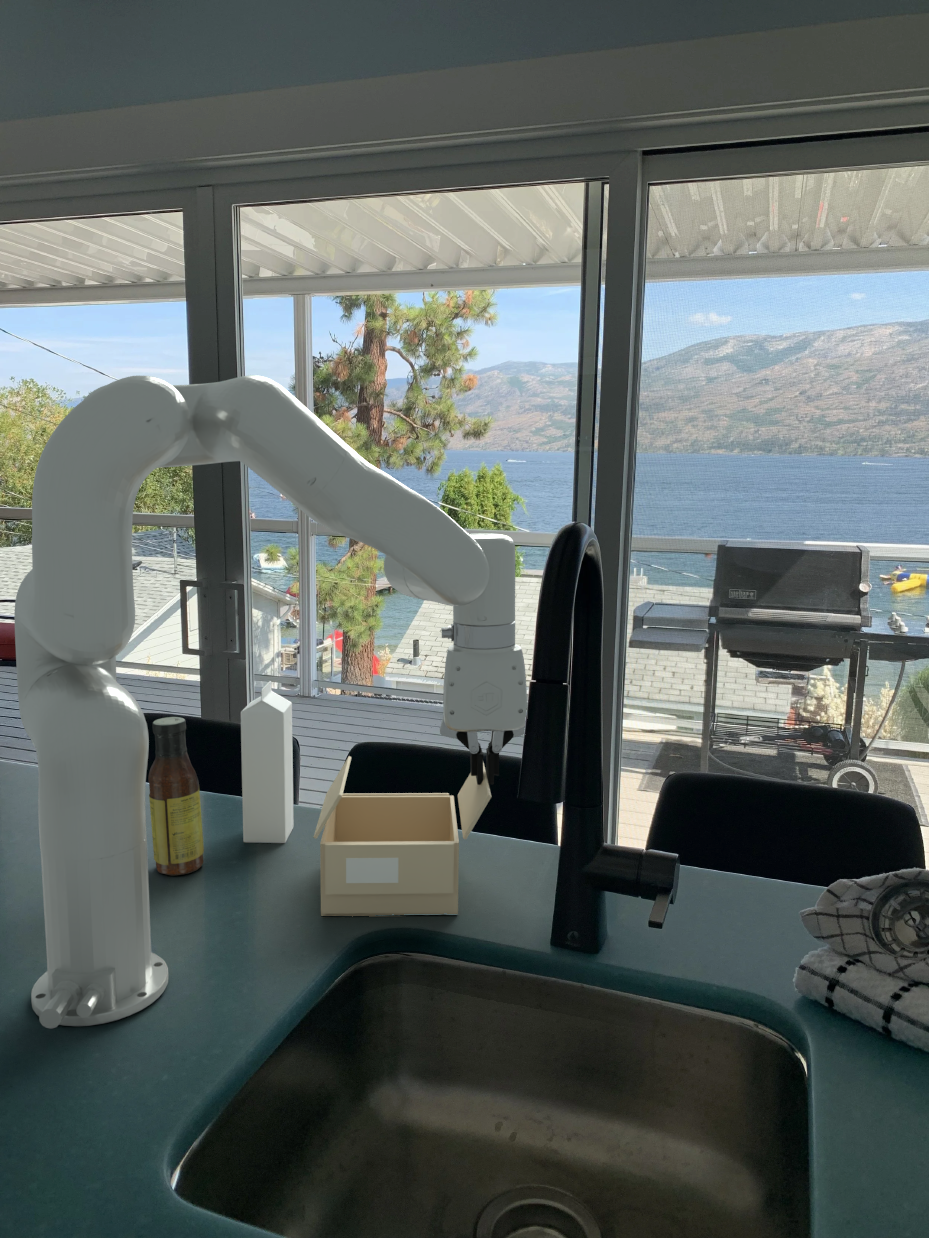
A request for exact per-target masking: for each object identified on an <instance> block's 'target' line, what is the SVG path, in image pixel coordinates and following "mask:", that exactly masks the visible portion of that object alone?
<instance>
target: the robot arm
mask: <svg viewBox="0 0 929 1238" xmlns="http://www.w3.org/2000/svg"><path fill="white" fill-rule="evenodd" d="M229 462H230V463H231V462H241V463H242V464H243V465H244V466H246V467H247V468H248V469H250V471H252V472H253V473H254V474H256V475H257V476H258V477H259V478H261V479H262V480H263V481H265V482H266V483H267V484H269V486H271V487H272V488H274V489H275V490H276V491H277V492H278V493H279V494H281V495H282V496H283V497H284V498H286V499H287V500H288V501H289V502H291V503H292V504H293V505H294V506H295V507H296V508H298V509H299V510H300V511H301V512H303V514H305V515H306V516H307V517H308V518H310V520H313V521H314V522H316V523H317V525H320V526H323V527H324V528H325V529H328V530H330V531H331V532H333V533H335V534H338V535H341V536H343V537H346V538H347V539H351V540H353V541H357V542H360V543H362V544H364V545H367V546H369V547H371V548H372V549H374V550H376V551H378V552H380V553H382V554H383V555H385V557H384V560H383V571H384V576H385V578H386V579H387V582H388V583H389V584H390V586H391V587H392V588H393V589H395V591H397V592H398V593H401V594H402V595H404V596H406V597H409V598H413V599H416V600H417V599H418V600H422V601H427V602H433V603H438V604H442V605H444V606H451V607H452V609H453V610H452V618H453V619H452V623H451V624H450V625H447V626H445V627H444V626H442V627H441V639H448V640H450V641H451V642H453V644H451V645H449V646H448V648H447V652H446V656H445V664H444V665H445V666H444V673H443V675H444V676H443V696H442V697H443V698H442V708H443V710H442V711H443V713H442V714H443V716H442V719H441V723H440V725H439V735H441V736H442V737H447V738H450V739H455V740H458V741H459V742H460V743H461V744H462V745H463V746H464V747H465V748H466V749H467V750H469V752H470V773H471V776H476V780H477V785H480V784H481V783H482V781H483V762H484V753H483V748H482V747H481V743H480V742H479V736H478V732H491V734H490V741H489V742H488V745H487V747H486V748H485V749H486V753H485V754H486V756H485V757H486V762H485V763H486V764H485V766H486V767H485V771H486V775H487V779H488V783H489V785H495V776H500V753H501V752H502V750H503V748H504V747H505V746H506V745H507V744H509V742H510V741H511V740H512V739H513V738H518V737H521V736H524V735H523V734H524V728H525V717H526V708H527V709H528V692H527V690H528V689H527V676H526V675H527V674H526V666H525V665H526V664H525V659H524V653H523V649H522V647H521V645H518V644H516V545H515V541H514V539H512V538H511V537H510V536H508V535H507V534H506V535H505V534H502V533H491V532H490V533H489V532H488V533H487V532H485V533H484V532H483V533H478V532H477V533H469V532H467V531H466V530H465V529H464V528H463V527H461V525H459V524H458V523H457V522H456V521H455V520H454V519H453V518H451V516H449V515H448V514H447V513H446V512H445V511H444V510H443V509H441V508H439V507H438V506H437V504H436V505H435V504H434V503H433V502H432V501H430V500H428V499H427V498H426V497H424V496H423V495H422V494H420V493H418V492H416V491H415V490H413V489H411V488H409V487H408V486H407V485H405V484H403V483H402V482H400V481H398V480H397V479H396V478H394V477H392V476H391V475H390V474H388V473H386V472H385V471H383V470H381V469H379V468H378V467H376V466H375V465H373V464H372V463H370V462H369V461H368V460H366V459H365V458H364V457H362V456H361V455H360V454H359V453H358V452H357V451H356V450H354V449H353V447H351V446H350V445H349V444H347V442H345V441H344V440H343V438H341V437H340V436H339V435H337V433H335V432H334V431H333V430H332V429H331V428H329V426H328V425H326V424H325V422H323V421H322V420H321V419H320V418H319V417H318V416H317V415H315V414H314V413H313V412H311V410H310V409H309V408H307V406H306V405H304V404H303V403H302V402H301V401H300V400H299V399H297V398H296V397H295V395H293V394H292V393H291V392H290V391H289V390H287V389H286V388H285V387H284V386H283V385H281V384H280V383H278V382H276V381H274V380H273V379H271V378H270V377H269V378H268V377H266V376H262V375H258V374H257V375H254V374H252V375H251V374H250V375H249V374H248V375H243V376H238V377H234V378H230V379H227V380H222V381H217V382H216V381H215V382H208V383H207V382H205V383H191V384H170V383H169V382H167V381H166V380H163V379H161V378H158V377H155V376H151V375H130V376H125V377H122V378H120V379H117V380H114V381H112V382H110V383H107V384H106V385H102V386H100V387H98V388H96V389H94V390H93V391H91V392H89V393H88V395H86V396H85V397H84V398H83V400H82V401H81V402H79V403H78V404H77V405H76V406H74V408H72V409H71V411H69V413H68V414H67V415H65V417H64V418H63V419H62V420H61V421H60V423H59V424H57V426H56V427H55V429H54V430H53V432H52V434H50V437H49V438H48V440H47V441H46V444H45V446H44V447H43V449H42V452H41V454H40V457H39V459H38V462H37V465H36V469H35V473H34V479H33V487H32V497H31V498H32V501H31V503H32V504H31V505H32V506H31V507H32V508H31V520H32V521H31V527H32V528H31V529H32V530H31V560H32V563H31V564H32V566H31V567H32V569H31V570H29V571H28V572H27V574H26V575H25V576H24V578H23V580H21V582H20V584H19V586H18V589H17V592H16V597H15V601H14V617H13V618H14V637H15V638H14V642H15V660H16V661H15V662H16V680H17V682H16V683H17V697H18V698H17V700H18V708H19V715H20V716H19V717H20V720H21V722H22V725H23V728H24V730H25V733H26V734H27V736H28V737H29V739H30V740H31V743H32V745H33V747H34V748H35V751H36V758H37V769H38V771H37V772H38V788H37V790H38V795H37V796H38V797H37V799H38V801H37V809H38V810H37V815H38V817H37V819H38V834H39V835H38V836H39V850H40V864H41V866H40V867H41V876H42V877H41V878H42V879H41V882H42V897H43V898H42V899H43V913H44V914H43V915H44V931H45V932H44V933H45V947H46V948H45V949H46V966H47V967H46V968H47V969H46V971H45V972H44V973H43V974H42V975H41V976H40V977H39V978H38V979H37V981H36V982H35V983H34V984H33V986H32V989H31V991H30V992H31V995H30V998H31V1008H32V1010H33V1012H34V1013H35V1014H36V1015H37V1016H38V1018H39V1020H38V1021H39V1023H40V1024H41V1026H42V1027H44V1028H46V1029H55V1028H58V1026H66V1027H90V1026H95V1025H103V1024H107V1023H112V1022H115V1021H119V1020H121V1019H124V1018H126V1017H127V1018H128V1017H129V1016H132V1015H134V1014H136V1013H138V1012H140V1011H142V1010H144V1009H146V1008H147V1007H148V1006H150V1005H151V1004H153V1003H154V1002H155V1001H156V1000H157V999H159V998H160V996H161V995H162V994H163V993H164V991H165V990H166V989H167V986H168V984H169V967H168V964H167V963H166V961H165V960H164V959H163V958H162V957H160V956H159V955H158V954H156V953H154V952H152V942H151V941H152V940H151V939H152V938H151V936H152V935H151V916H150V915H151V914H150V913H151V912H150V887H149V886H150V885H149V883H150V882H149V863H148V860H149V859H148V839H147V838H148V835H147V819H146V817H147V816H146V815H147V814H146V813H147V812H146V786H147V785H146V781H147V770H148V761H149V760H148V759H149V750H150V749H149V745H150V744H149V743H150V742H149V741H150V740H149V729H148V723H147V721H146V717H145V714H144V712H143V710H142V708H141V706H140V705H139V703H138V701H137V700H136V699H135V697H134V696H133V694H131V693H130V692H129V691H128V690H127V688H124V686H122V685H121V684H120V683H118V682H117V656H118V655H119V654H121V652H122V651H123V650H124V649H125V648H126V647H127V645H128V644H129V642H130V640H131V638H132V636H133V634H134V633H133V632H134V628H135V625H136V605H135V602H136V601H135V593H134V592H135V591H134V575H133V574H134V571H133V569H134V568H133V547H132V545H133V543H132V542H133V539H132V537H133V518H134V509H135V508H134V507H135V503H136V499H137V496H138V493H139V490H140V488H141V487H142V485H143V483H144V481H145V480H146V478H148V476H149V475H150V474H151V473H152V472H153V471H154V470H155V469H157V468H173V467H177V468H178V467H185V466H186V467H189V466H190V467H191V466H202V465H210V464H211V465H212V464H219V463H229Z"/></svg>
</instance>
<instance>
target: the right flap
mask: <svg viewBox="0 0 929 1238" xmlns="http://www.w3.org/2000/svg"><path fill="white" fill-rule="evenodd" d="M485 766H486V765H485V763H484V761H483V781H482V783H481V784H480V785H477V780H476V776H471V772H470V773H469V774H468V777H466V779H465V781H464V783H463V785H462V786H461V788H460V790H459V792H458V794H457V802H458V808H459V816H460V818H459V819H460V825H461V826H460V827H461V832H462V839H464V840H466V841H467V839H468V837H469V835H470V834H471V832H472V831H473V829H474V828H475V825H476V824H477V822H478V820H479V819H480V817H481V815H482V814H483V812H484V811H485V808H486V807H487V805H488V803H489V802H490V800H491V799H492V793H491V787H490V783H488V779H487V774H486V767H485Z"/></svg>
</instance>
